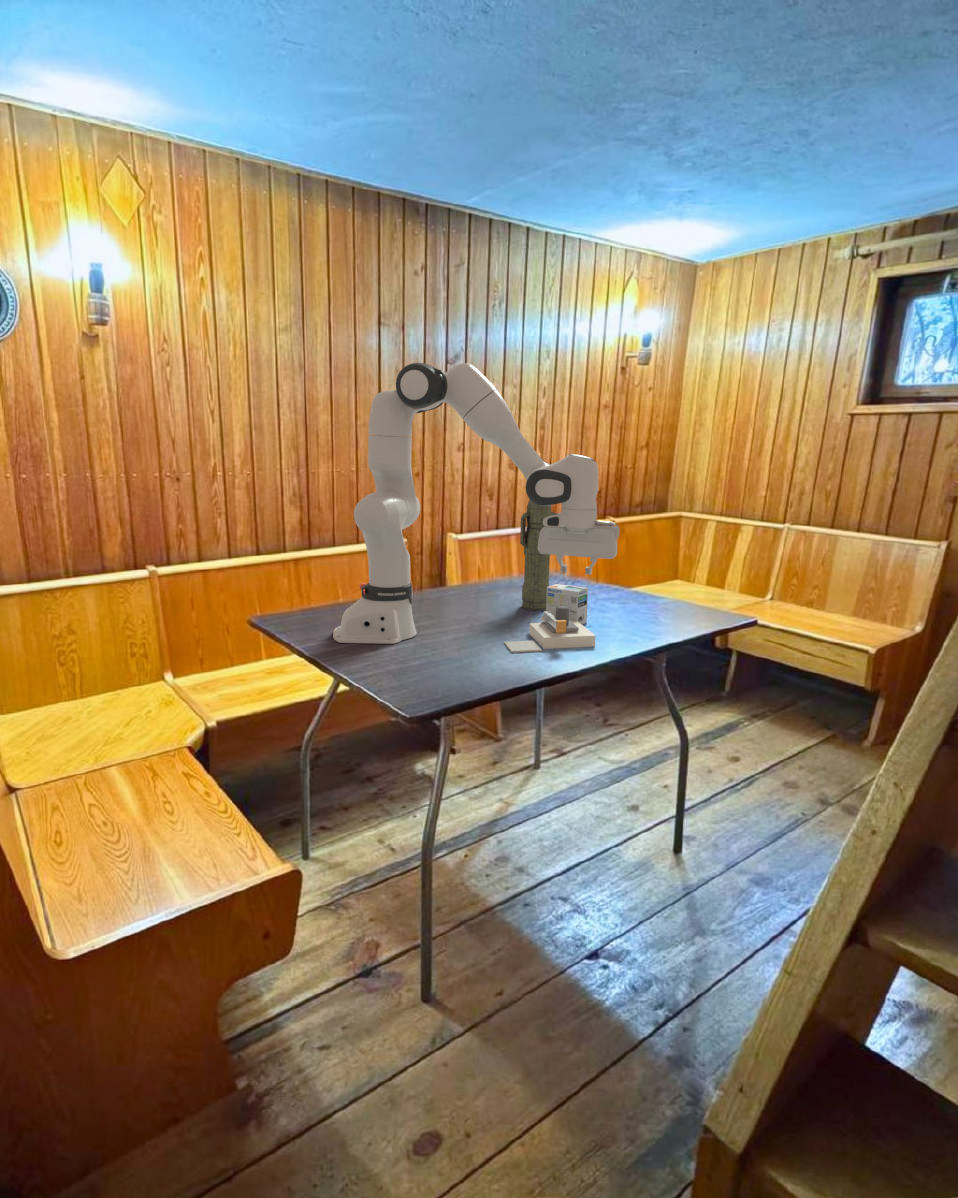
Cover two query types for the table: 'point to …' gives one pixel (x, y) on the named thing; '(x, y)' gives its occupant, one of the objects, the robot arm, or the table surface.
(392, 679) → the table surface
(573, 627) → the plug
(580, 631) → the socket
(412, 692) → the table surface
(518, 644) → the mat
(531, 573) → the thermos
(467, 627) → the table surface
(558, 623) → the ball-tipped lever rod
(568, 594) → the light bulb box
